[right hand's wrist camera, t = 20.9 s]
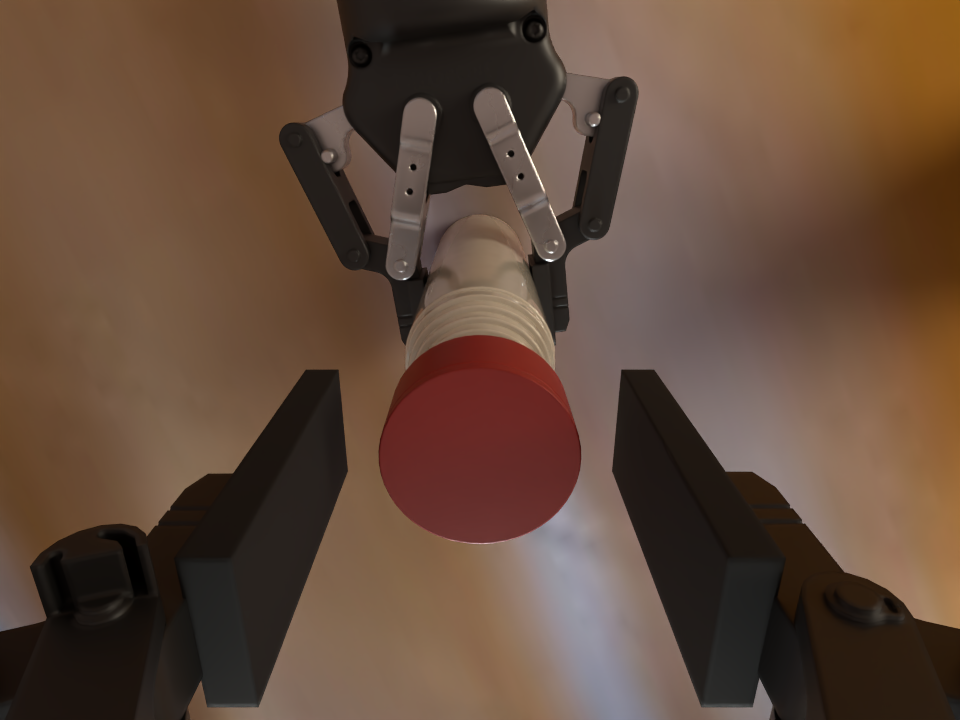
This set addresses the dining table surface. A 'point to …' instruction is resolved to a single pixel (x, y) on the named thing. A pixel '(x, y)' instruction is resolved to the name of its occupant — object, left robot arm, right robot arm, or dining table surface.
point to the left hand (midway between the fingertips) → (488, 345)
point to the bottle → (480, 291)
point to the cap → (479, 441)
